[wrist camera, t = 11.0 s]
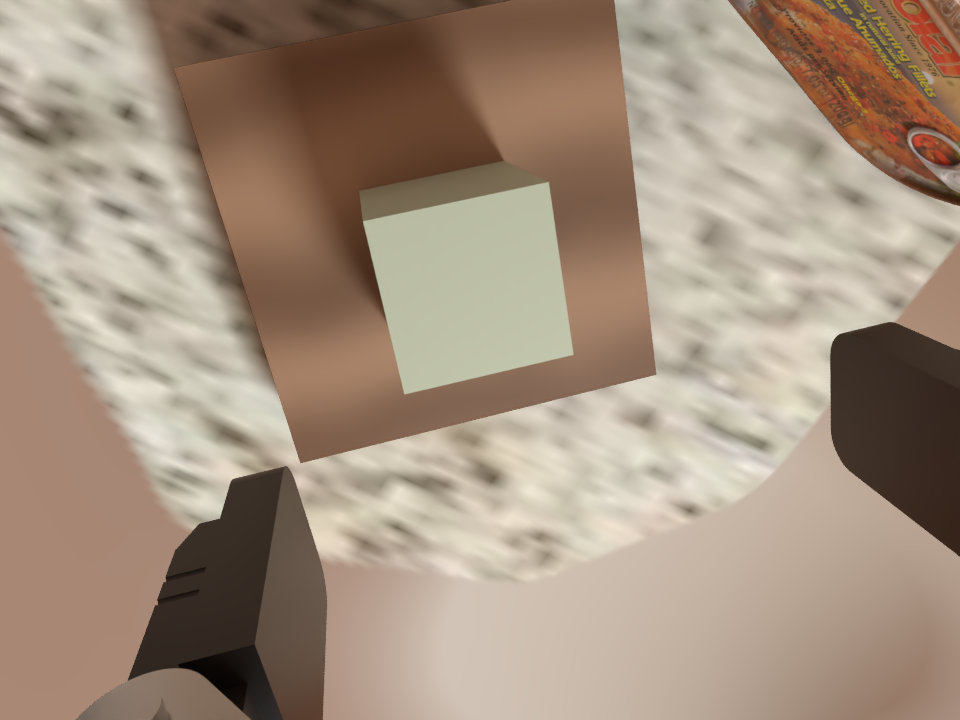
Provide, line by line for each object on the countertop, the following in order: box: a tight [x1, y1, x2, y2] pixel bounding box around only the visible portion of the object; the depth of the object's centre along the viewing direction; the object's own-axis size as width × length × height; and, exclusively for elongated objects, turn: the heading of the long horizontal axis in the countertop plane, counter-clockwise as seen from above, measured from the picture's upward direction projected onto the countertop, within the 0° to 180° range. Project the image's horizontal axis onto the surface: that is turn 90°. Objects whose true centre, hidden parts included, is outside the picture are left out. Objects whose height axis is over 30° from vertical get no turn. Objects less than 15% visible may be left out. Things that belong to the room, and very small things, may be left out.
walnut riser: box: [174, 0, 656, 463], centre depth 28 cm, size 14×14×4 cm
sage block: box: [359, 161, 574, 394], centre depth 23 cm, size 5×5×6 cm
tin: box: [728, 0, 960, 206], centre depth 25 cm, size 15×3×8 cm, turn 48°
